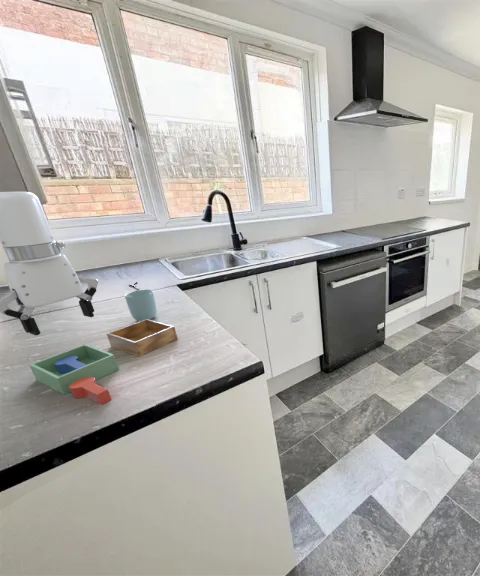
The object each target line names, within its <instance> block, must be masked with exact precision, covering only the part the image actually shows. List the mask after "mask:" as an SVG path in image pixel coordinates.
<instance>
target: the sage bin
mask: <svg viewBox="0 0 480 576" xmlns="http://www.w3.org/2000/svg"><path fill="white" fill-rule="evenodd" d="M68 356H78V359H79V361H80V362H81V363H84V364H86V366H84V367H81V368H79V369H76V370H74V371H72V372H69V373H66V374H59V373H58V371H57V369H56V367H55V364H54V363H55V362H56V361H57V360H59V359H61V358H64V357H68ZM29 368H30V370H31V372H32V374H33V376H34V378H35V380H36V382H37V381H38V382H39V383H41V384H42V385H45V386H47V387H49V388H50V389H52V390H54V391H56V392H58V393H60V394H62V395H67V394H69V393H71V390H70V388H69V386H70V384H71V383H73V382H75V381H76V380H79V379H82V378H85V377H94V378H95V380H96V381H97V380H99V379H102V378H103V377H106V376H109V375H110V374H112V373H114V372H117V371H119V370H120V367H119V365H118V362H117V359H116V355H115V354H113V353H111V352H109V351H106V350H103V349H100V348H97V347H94V346H92V345H91V344H90V345H89V344H87V343H84V344H82V345H79V346H76V347H73V348H71V349H69V350H66V351H63V352H60V353H57V354H55V355H51V356H49V357H46V358H44V359H42V360H39V361H35V362H33V363H31V364H29Z"/></svg>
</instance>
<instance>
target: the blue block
mask: <svg viewBox="0 0 480 576" xmlns="http://www.w3.org/2000/svg"><path fill="white" fill-rule="evenodd" d="M54 364H55V367H56V369H57V371H58V373H59V374H66V373H69V372H72V371H74V370H76V369H79V368H81V367H84V366H86V364H84V363H81V362H80V361H79V359H78V356H68V357H64V358H61V359H59V360H57V361H56V362H55V363H54Z"/></svg>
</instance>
